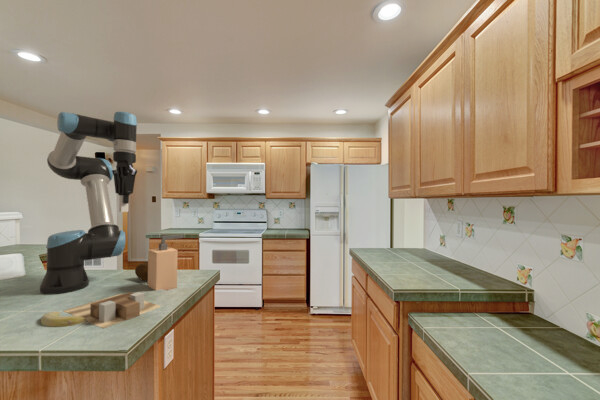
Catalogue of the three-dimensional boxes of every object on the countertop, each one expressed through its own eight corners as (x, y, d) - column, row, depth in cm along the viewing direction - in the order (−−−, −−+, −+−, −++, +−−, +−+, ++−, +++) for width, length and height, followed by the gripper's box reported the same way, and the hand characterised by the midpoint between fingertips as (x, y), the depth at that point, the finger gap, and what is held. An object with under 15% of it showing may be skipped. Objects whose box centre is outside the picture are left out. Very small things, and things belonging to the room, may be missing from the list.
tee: (90, 316, 82) (90, 303, 82) (130, 303, 93) (130, 292, 93) (111, 325, 77) (112, 311, 77) (151, 310, 87) (151, 298, 87)
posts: (98, 320, 80) (99, 303, 80) (138, 306, 90) (138, 291, 90) (104, 322, 78) (104, 305, 78) (144, 308, 89) (144, 293, 89)
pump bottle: (155, 293, 106) (156, 238, 106) (147, 288, 112) (148, 236, 112) (186, 285, 116) (187, 235, 116) (177, 281, 122) (178, 233, 122)
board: (62, 313, 86) (62, 310, 86) (121, 296, 102) (121, 293, 102) (103, 331, 75) (103, 328, 75) (161, 309, 91) (161, 306, 91)
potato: (153, 275, 130) (153, 257, 130) (163, 280, 122) (163, 261, 122) (133, 279, 124) (134, 260, 124) (143, 284, 116) (143, 264, 116)
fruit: (56, 336, 73) (56, 324, 73) (32, 323, 80) (32, 312, 80) (86, 325, 79) (87, 314, 79) (62, 314, 86) (62, 304, 86)
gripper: (105, 151, 105) (104, 211, 105) (124, 149, 99) (123, 212, 99) (125, 154, 111) (124, 210, 111) (144, 152, 105) (143, 212, 106)
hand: (123, 211), depth 105 cm, fingers closed
